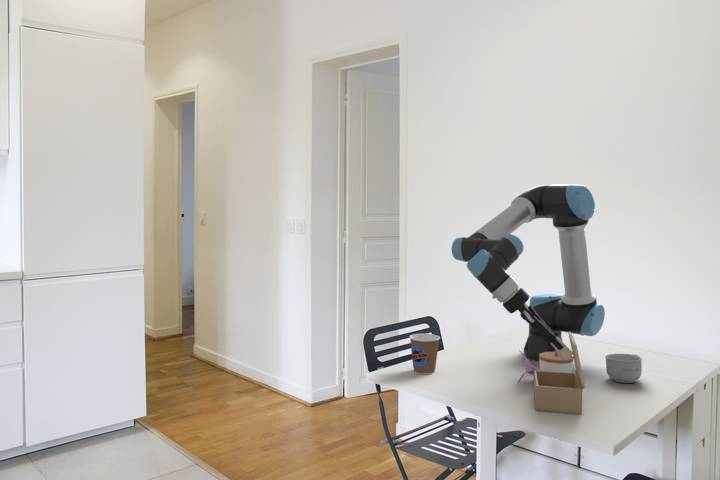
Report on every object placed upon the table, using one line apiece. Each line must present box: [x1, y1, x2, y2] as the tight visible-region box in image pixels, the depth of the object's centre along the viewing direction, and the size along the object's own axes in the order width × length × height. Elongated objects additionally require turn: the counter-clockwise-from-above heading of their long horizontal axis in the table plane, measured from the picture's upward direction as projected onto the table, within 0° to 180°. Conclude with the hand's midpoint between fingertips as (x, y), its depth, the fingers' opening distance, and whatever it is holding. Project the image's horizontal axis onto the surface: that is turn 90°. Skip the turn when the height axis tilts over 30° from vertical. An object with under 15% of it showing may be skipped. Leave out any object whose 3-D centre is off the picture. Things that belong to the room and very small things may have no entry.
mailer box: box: [533, 370, 584, 415], centre depth 176 cm, size 12×16×7 cm
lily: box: [517, 349, 540, 384], centre depth 196 cm, size 12×12×10 cm
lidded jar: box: [538, 350, 574, 373], centre depth 200 cm, size 11×11×9 cm
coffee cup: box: [408, 333, 441, 375], centre depth 208 cm, size 10×10×12 cm
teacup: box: [605, 353, 643, 384], centre depth 199 cm, size 14×11×8 cm
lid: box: [567, 332, 586, 390], centre depth 175 cm, size 12×16×1 cm
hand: (569, 356), depth 175 cm, fingers closed
